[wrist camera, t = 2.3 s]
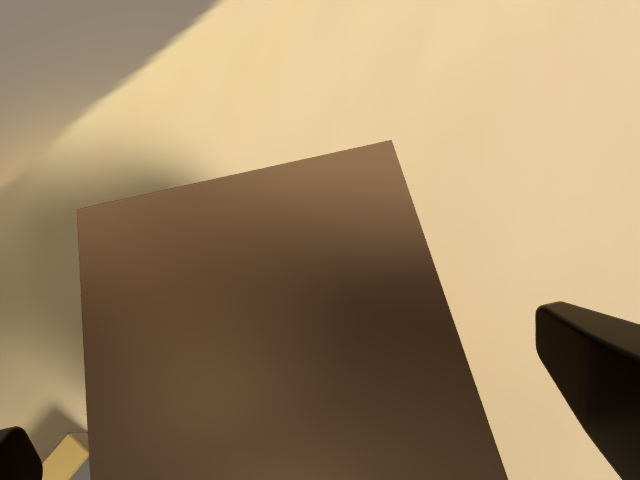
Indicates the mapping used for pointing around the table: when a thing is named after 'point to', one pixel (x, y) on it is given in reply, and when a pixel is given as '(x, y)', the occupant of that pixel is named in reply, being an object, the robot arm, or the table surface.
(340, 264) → the open wooden box
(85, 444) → the dock
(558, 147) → the table surface
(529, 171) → the table surface
